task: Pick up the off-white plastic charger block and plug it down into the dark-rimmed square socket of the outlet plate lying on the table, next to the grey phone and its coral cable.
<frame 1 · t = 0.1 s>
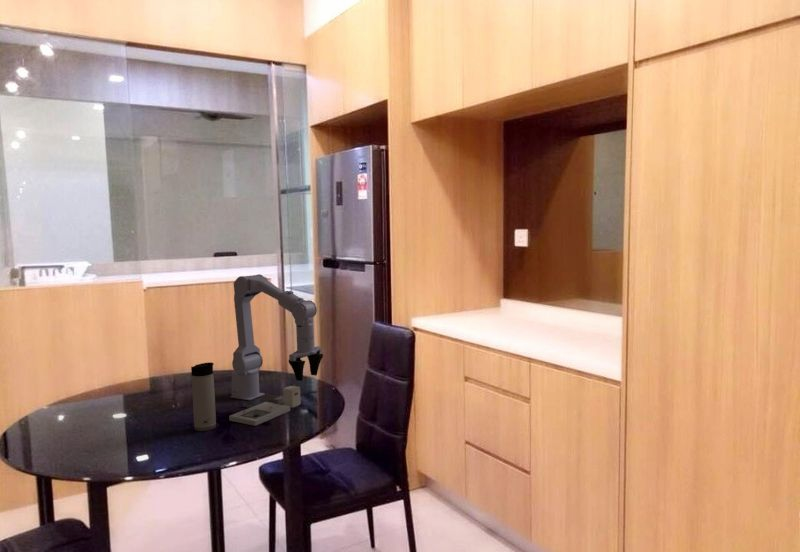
hand: (306, 377, 186), 10 cm above the table, fingers open, 7 cm apart
outlet plate: (260, 415, 179), on the table
charger block: (292, 405, 189), on the table
phone: (261, 403, 192), on the table
cable plug: (280, 404, 193), on the table, touching outlet plate
travel mug: (205, 428, 169), on the table
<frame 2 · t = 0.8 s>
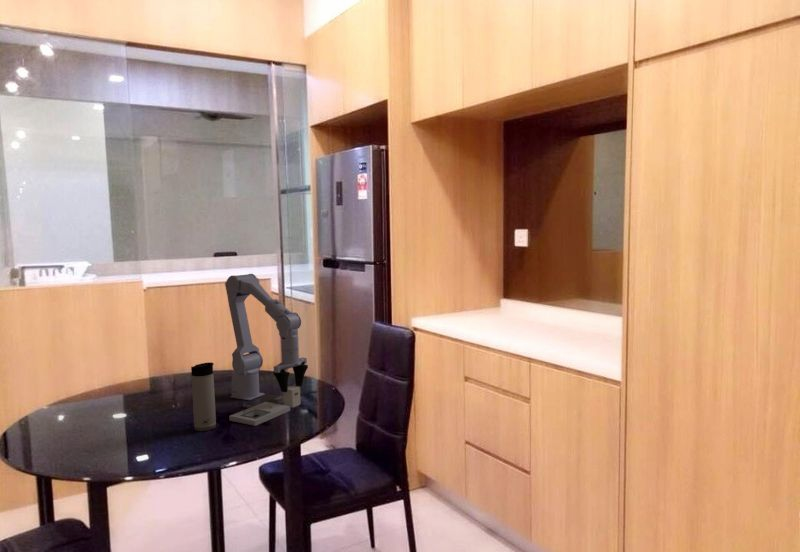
hand: (291, 388, 189), 6 cm above the table, fingers open, 7 cm apart
nothing on the table moved.
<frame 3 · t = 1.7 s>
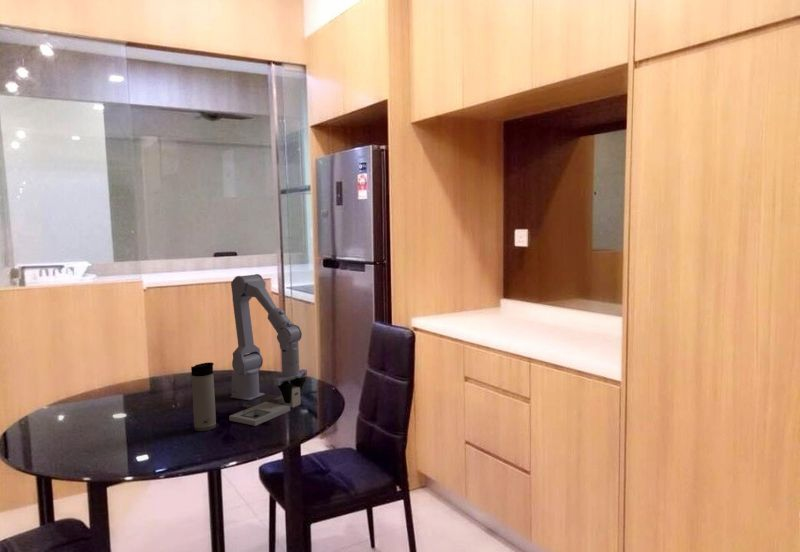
hand: (292, 400, 189), 1 cm above the table, fingers closed on charger block, 4 cm apart
charger block: (292, 405, 189), on the table, touching gripper
everything else where it was.
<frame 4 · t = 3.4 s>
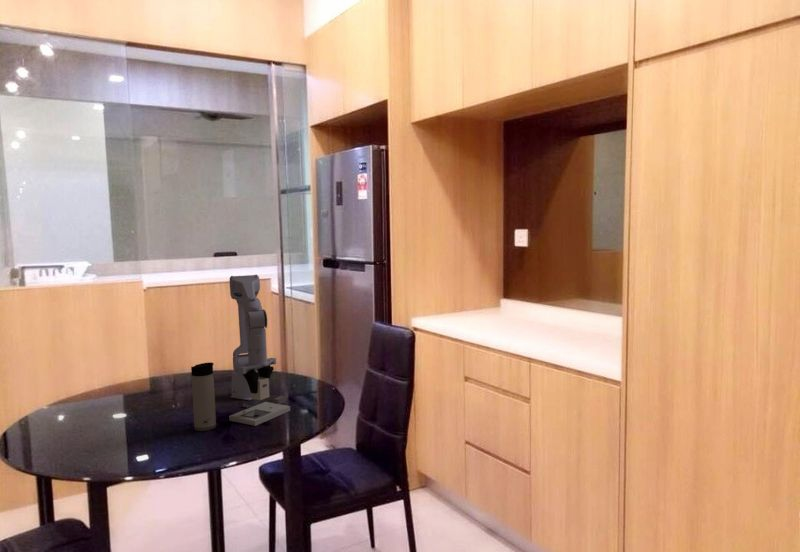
hand: (259, 391, 177), 8 cm above the table, fingers closed on charger block, 4 cm apart
charger block: (260, 397, 177), point 6 cm above the table, touching gripper
everything else where it was.
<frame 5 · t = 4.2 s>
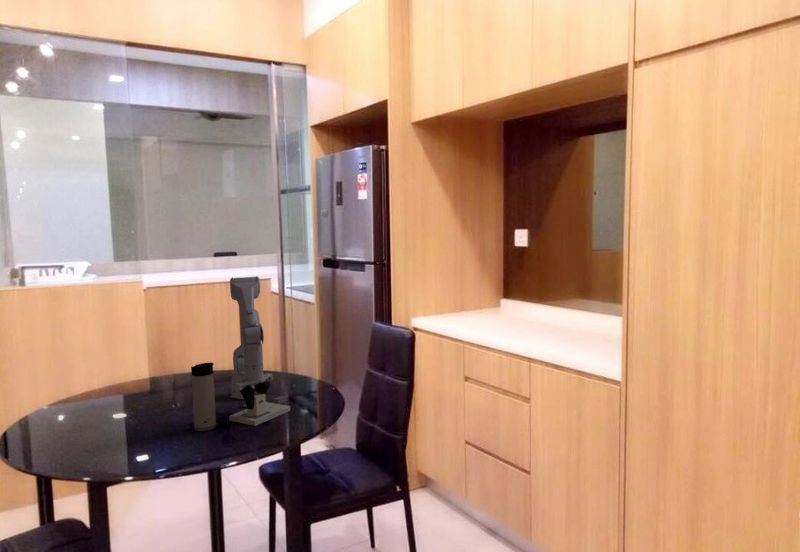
hand: (255, 407, 176), 4 cm above the table, fingers closed on charger block, 4 cm apart
charger block: (256, 413, 176), point 2 cm above the table, touching gripper
everything else where it was.
when the fingers open (2 cm above the table, at t = 4.9 s): charger block stays where it is, resting in outlet plate.
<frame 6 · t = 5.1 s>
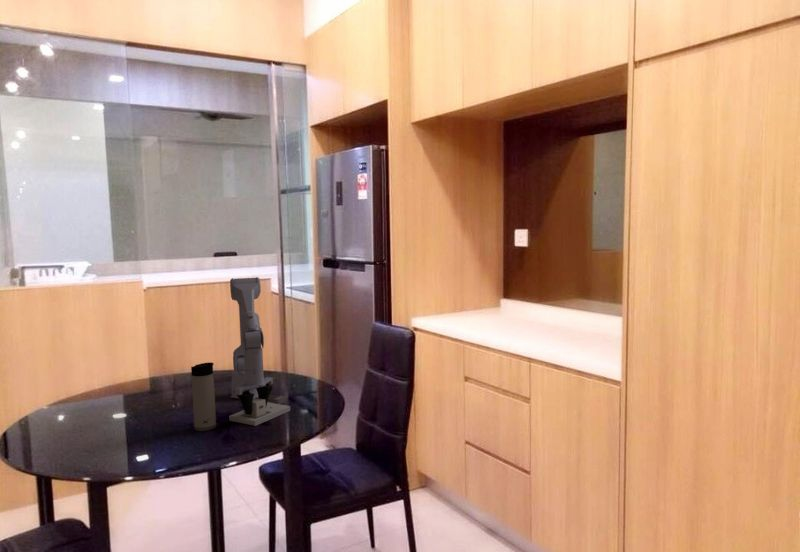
hand: (255, 411, 176), 2 cm above the table, fingers open, 6 cm apart
charger block: (257, 419, 176), resting in outlet plate
everything else where it was.
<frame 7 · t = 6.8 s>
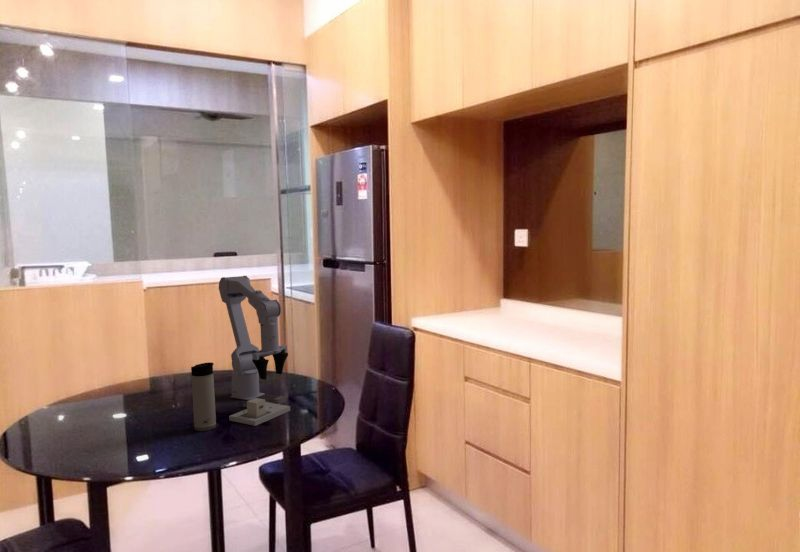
hand: (271, 376, 188), 10 cm above the table, fingers open, 7 cm apart
nothing on the table moved.
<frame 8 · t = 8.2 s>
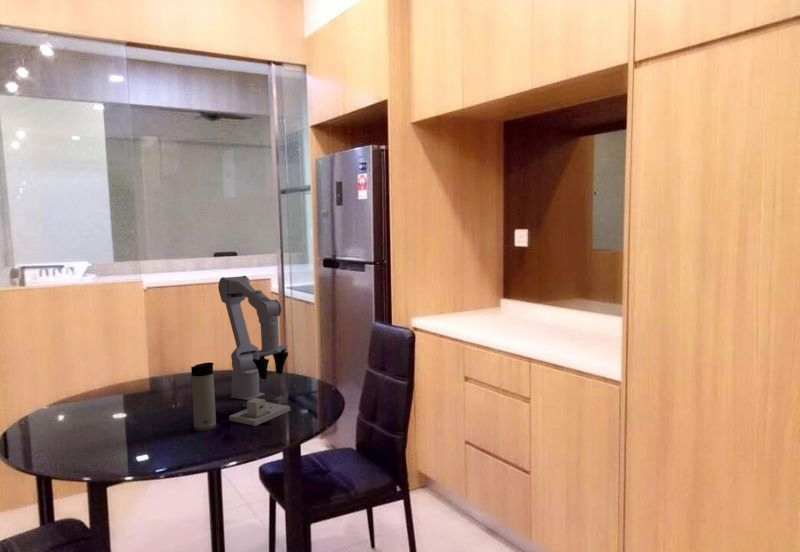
hand: (271, 376, 188), 10 cm above the table, fingers open, 7 cm apart
nothing on the table moved.
at the end: charger block 0.3 cm from the target spot on the outlet plate, point 0.0 cm above the outlet plate's base; charger block tilted 0°; the gripper is holding nothing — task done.
